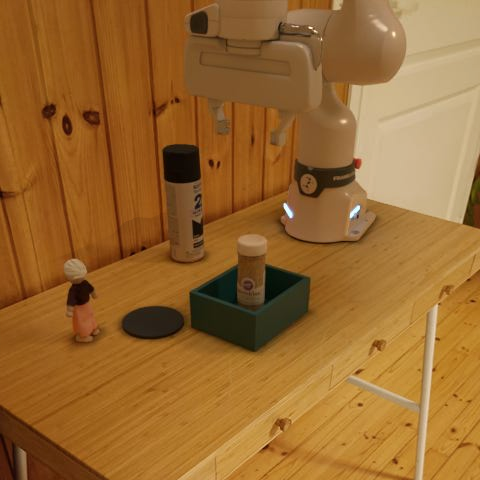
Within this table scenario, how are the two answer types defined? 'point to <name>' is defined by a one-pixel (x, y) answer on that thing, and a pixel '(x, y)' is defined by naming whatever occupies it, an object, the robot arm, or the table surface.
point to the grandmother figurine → (80, 301)
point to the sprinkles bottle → (251, 271)
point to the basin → (243, 320)
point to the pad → (153, 322)
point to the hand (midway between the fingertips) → (249, 139)
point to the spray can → (184, 201)
